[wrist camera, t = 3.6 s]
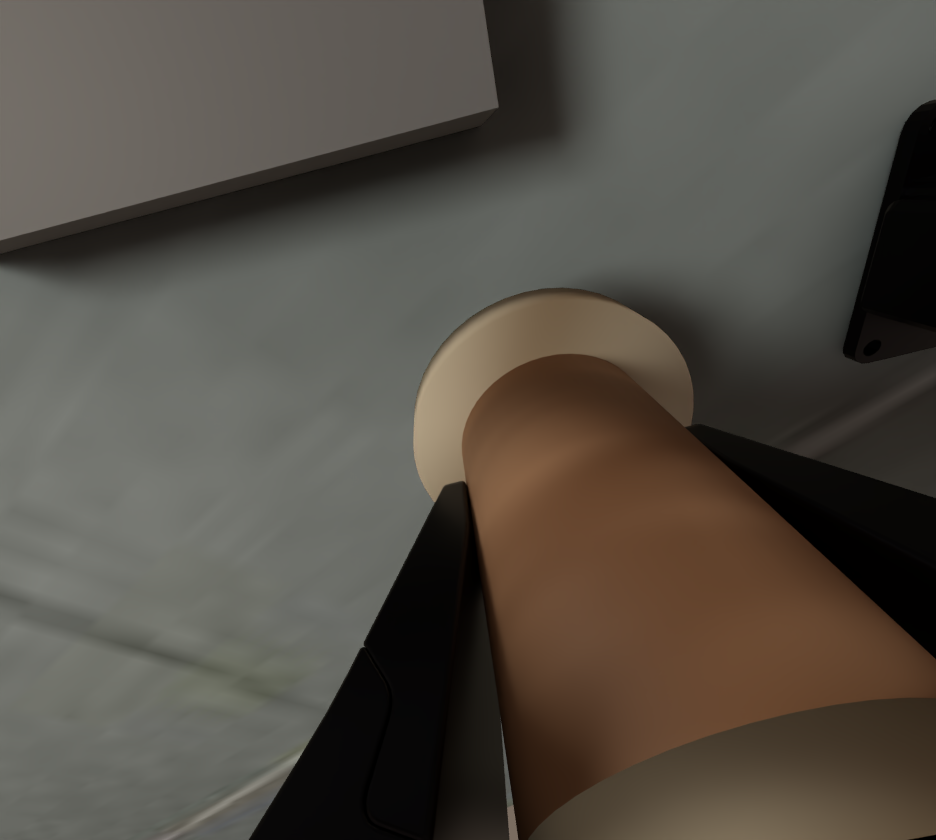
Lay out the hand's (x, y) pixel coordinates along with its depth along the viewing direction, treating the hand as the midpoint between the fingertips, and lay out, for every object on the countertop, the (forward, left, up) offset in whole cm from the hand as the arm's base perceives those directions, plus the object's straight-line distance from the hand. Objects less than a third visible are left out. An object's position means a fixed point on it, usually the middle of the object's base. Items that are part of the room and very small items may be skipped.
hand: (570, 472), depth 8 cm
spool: (0, 0, -2) cm, 2 cm away
